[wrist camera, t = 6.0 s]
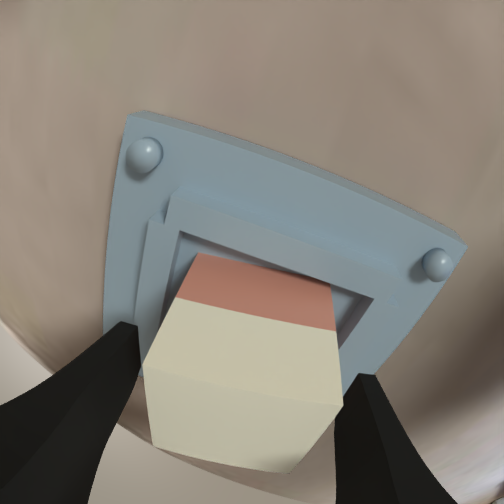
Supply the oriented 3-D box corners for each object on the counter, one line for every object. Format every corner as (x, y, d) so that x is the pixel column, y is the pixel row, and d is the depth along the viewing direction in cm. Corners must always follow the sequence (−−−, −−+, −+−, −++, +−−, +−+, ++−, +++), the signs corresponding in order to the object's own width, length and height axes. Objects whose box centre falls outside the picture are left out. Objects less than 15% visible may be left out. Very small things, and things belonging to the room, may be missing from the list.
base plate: (455, 231, 10) (477, 258, 9) (320, 410, 16) (320, 440, 15) (143, 110, 10) (115, 117, 8) (112, 344, 16) (96, 371, 14)
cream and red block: (329, 280, 11) (343, 405, 6) (295, 366, 13) (289, 473, 9) (198, 252, 11) (142, 364, 6) (189, 343, 13) (153, 446, 9)
